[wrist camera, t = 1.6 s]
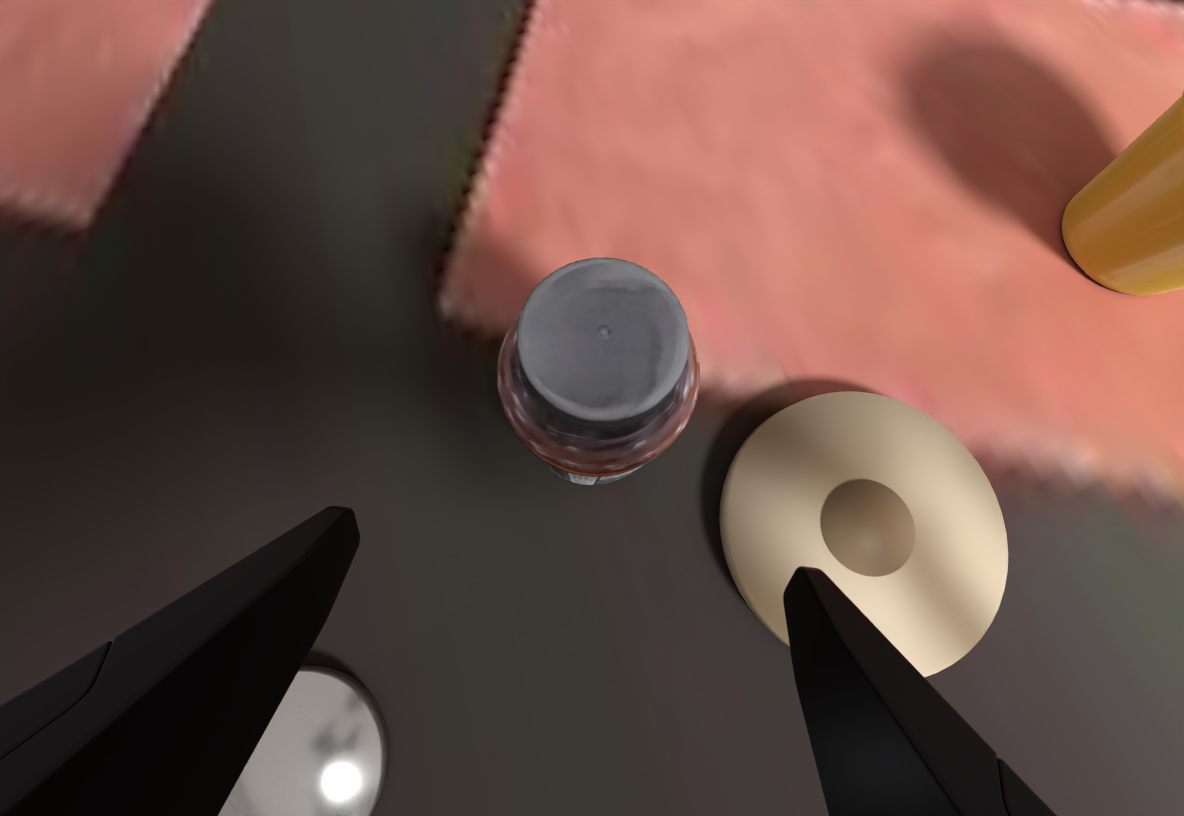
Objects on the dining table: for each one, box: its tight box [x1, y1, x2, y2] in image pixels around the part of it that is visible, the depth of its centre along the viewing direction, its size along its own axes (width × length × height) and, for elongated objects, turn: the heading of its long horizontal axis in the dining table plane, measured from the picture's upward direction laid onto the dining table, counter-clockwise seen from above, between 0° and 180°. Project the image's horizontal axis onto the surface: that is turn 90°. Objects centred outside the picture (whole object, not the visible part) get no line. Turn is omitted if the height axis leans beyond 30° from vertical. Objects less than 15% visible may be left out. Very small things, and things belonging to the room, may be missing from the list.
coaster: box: [719, 391, 1008, 677], centre depth 20 cm, size 12×12×1 cm
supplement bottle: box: [497, 258, 700, 485], centre depth 16 cm, size 6×6×11 cm
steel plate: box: [218, 665, 389, 816], centre depth 17 cm, size 7×7×1 cm
